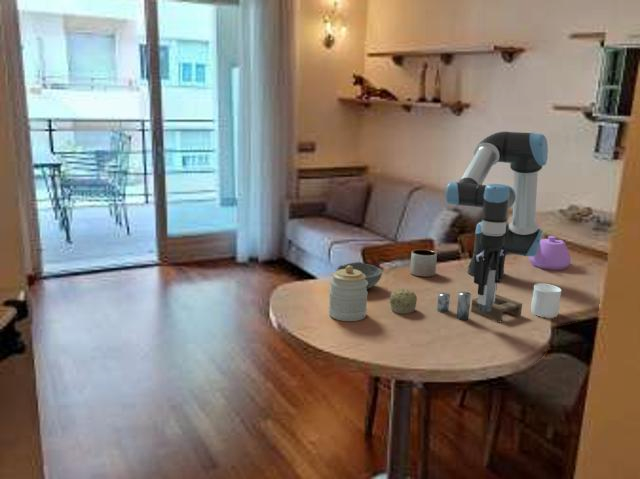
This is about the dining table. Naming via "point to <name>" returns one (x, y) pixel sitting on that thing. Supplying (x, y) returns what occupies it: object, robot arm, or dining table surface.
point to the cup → (545, 300)
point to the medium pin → (463, 306)
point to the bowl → (366, 272)
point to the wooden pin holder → (498, 308)
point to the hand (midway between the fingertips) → (486, 302)
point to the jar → (348, 295)
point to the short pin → (443, 302)
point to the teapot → (551, 254)
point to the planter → (423, 263)
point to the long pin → (489, 291)
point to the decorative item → (403, 301)
